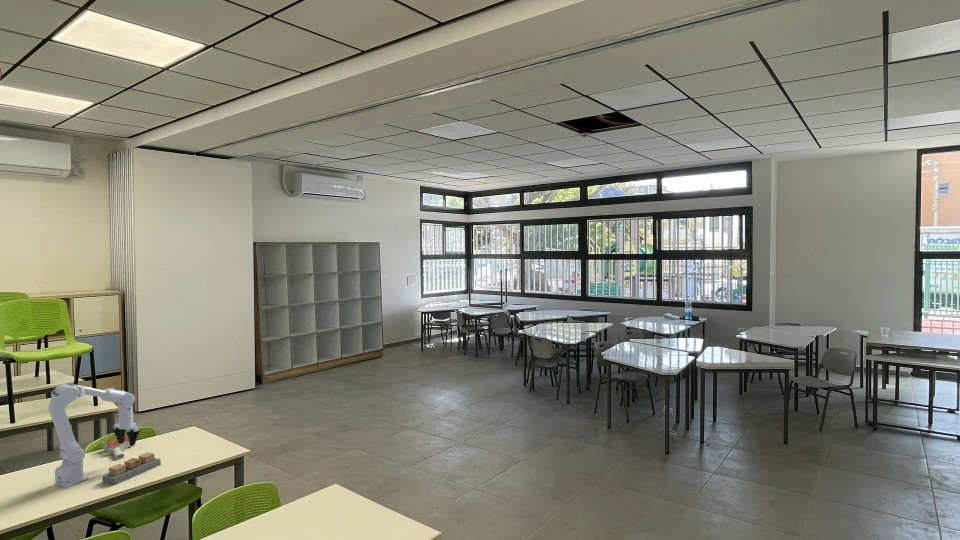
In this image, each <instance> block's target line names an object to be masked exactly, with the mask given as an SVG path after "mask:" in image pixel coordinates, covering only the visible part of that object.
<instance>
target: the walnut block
mask: <svg viewBox="0 0 960 540" xmlns="http://www.w3.org/2000/svg"><path fill="white" fill-rule="evenodd" d="M123 463H124V464H123V465H126V470H133V469H135V468H138V467H140V466H141V459H139V458H137V457H133V458H130V459H128V460H126V461H124V462H123Z"/></svg>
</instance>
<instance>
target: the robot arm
mask: <svg viewBox="0 0 960 540" xmlns="http://www.w3.org/2000/svg"><path fill="white" fill-rule="evenodd" d="M50 396H51V397H50V402H49V405H48V408H47V409H48V412H49V414H50V417H51V420H52V423H53V426H54V429H55V432H56V434H57V437H58V440H59V442H60V445H59V449H60V450H59V453H58V454H59V458H60V459H62V462H61V465H59V466H58V467H55V469H54V482H55V483H54V485H53V486H56V487H61V488H65V489H66V488H69V487H71V486H73V485H74V486H75V485H76V484H78V483H81V482H84V481H86V480H88V479H89V477H87V476H84V463H83V462H84V461H83V460H84V459H85V455H86V452H85V450H84V449H82V448H81V445H80V444H79V442H77V440H76V438H75V434H74V432H73V429H72V427H71V423H70V420H69V417H68V414H67V412H66V408H67V407H68V406H69V405H70V404H71V403H73V402H74V401H75V400H76V399H77V398H81V397H83V396H91V397H92V396H93V397H99V398H101V400H102V401H103V402H109V403H114V404H118V423H115V424H113V429H114V430H112V432H113V433H114V435H115V437H116V439H117V442H118V443H119V444H121V443H124V439H125V437H126V436H128V438H129V444H130V446H133V447H134V446H135V445H136V441H137V438H138V435H139V434H140V433H141V430H140V427H139V426H138V425H136V423H135V422H134V407H133V405H134V402H135V400H136V397H135V395H134V394H133V393H131V392H128V391H125V390H124V389H121V390H119V389H115V388H114V387H110V388H109V387H108V388H105V389H99V388H93V387H91V386H90V387H89V386H86V385H85V386H84V385H79V384H72V383H71V384H68V383H60V384H59V385H57V386H55V388H54V389H53V390H52V391H51V395H50ZM126 431H127V432H126Z"/></svg>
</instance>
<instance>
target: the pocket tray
mask: <svg viewBox="0 0 960 540" xmlns="http://www.w3.org/2000/svg"><path fill="white" fill-rule="evenodd" d="M138 459H141V466H140V467H138V468H135V469H133V470H126V465H124V464H120V463H118V464H116V465H112V466H111V467H108V473H104V474H103V475H102V483H105V484H109V485H113V486H116V485H118V484H120V483H122V482H125V481H127V480H130V479H132V478H134V477H136V476H139V475H141V474H143V473H145V471H146V472H148V471H150V470H153V469H154V467H155V468H157V467H159V466H161V463H162V462H161V460H162V459H161V458H157V457H155V453H152V452H145V453H142V454H140V455H138ZM156 466H157V467H156ZM147 470H148V471H147ZM142 472H143V473H142ZM140 473H141V474H140Z"/></svg>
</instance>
